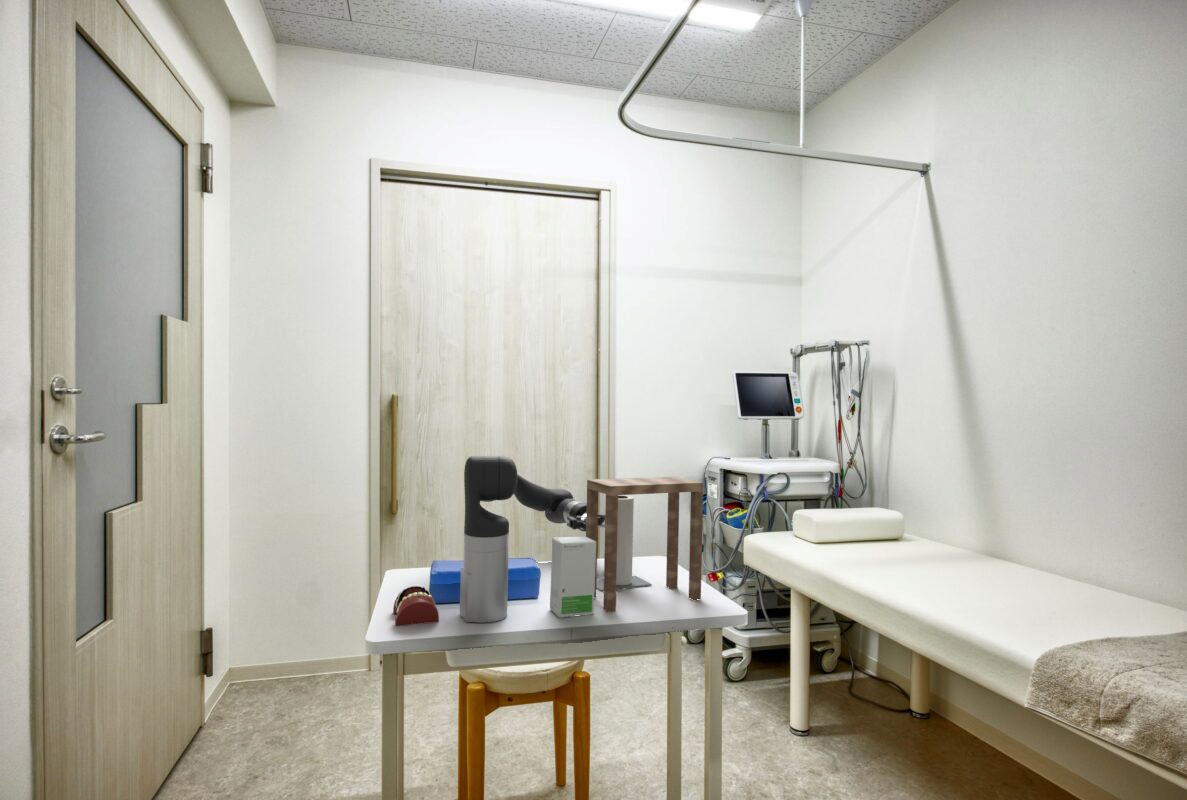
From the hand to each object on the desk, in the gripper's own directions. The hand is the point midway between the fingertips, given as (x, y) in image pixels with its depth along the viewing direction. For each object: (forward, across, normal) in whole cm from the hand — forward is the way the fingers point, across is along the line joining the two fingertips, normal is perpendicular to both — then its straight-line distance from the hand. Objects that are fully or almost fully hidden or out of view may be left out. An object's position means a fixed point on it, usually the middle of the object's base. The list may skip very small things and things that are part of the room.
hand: (605, 526), depth 166 cm
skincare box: (+24, +20, -13) cm, 34 cm away
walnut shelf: (+21, +1, -12) cm, 25 cm away
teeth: (+16, +51, -13) cm, 55 cm away
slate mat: (+9, +1, -13) cm, 16 cm away
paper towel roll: (+9, 0, -12) cm, 15 cm away
